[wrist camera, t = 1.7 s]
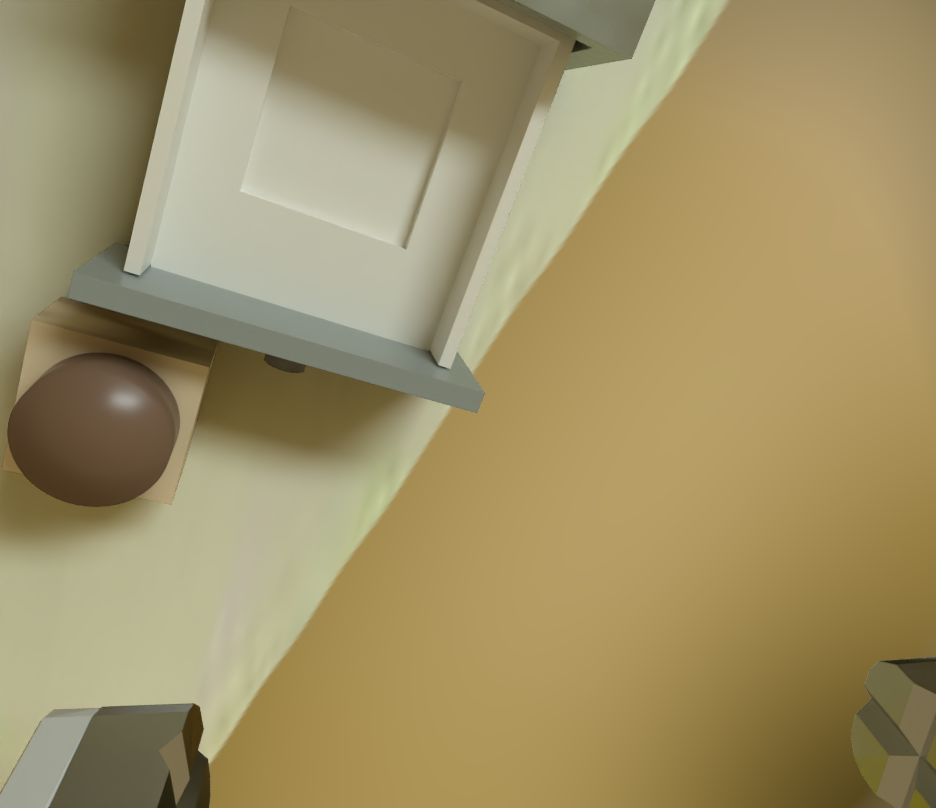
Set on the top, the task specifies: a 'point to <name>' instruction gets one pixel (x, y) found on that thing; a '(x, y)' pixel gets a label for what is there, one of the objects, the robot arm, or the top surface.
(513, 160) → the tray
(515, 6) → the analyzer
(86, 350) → the block
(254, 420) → the top surface
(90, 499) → the puck
